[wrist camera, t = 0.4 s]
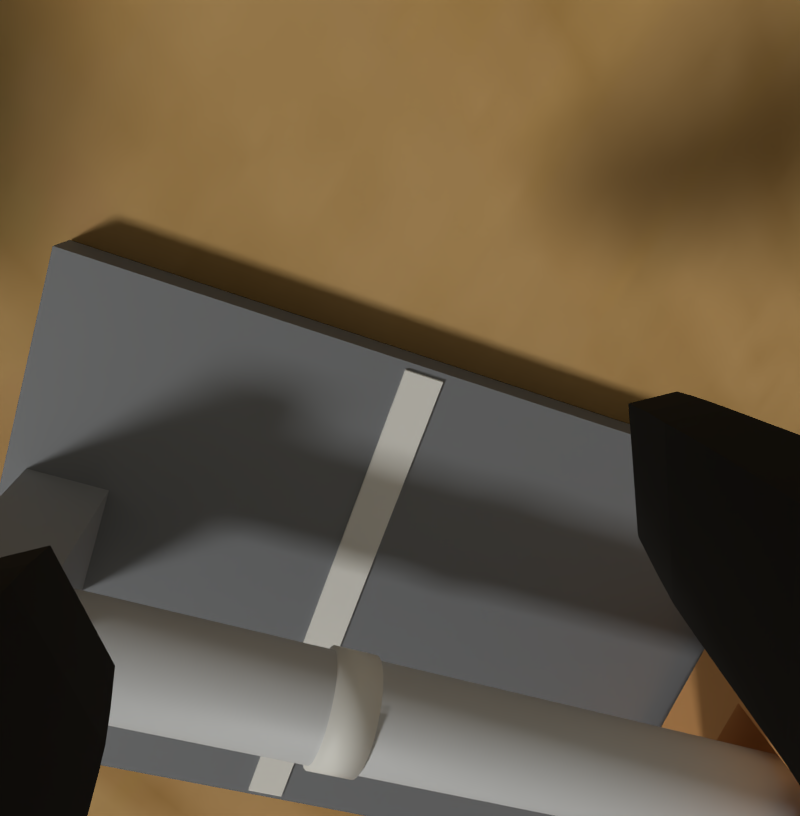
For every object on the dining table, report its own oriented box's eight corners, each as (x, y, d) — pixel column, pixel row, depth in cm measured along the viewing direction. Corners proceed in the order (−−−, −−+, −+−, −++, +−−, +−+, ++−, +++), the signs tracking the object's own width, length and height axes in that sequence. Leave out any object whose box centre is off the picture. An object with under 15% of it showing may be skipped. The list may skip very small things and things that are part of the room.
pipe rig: (858, 883, 28) (1024, 1107, 21) (-36, 704, 22) (-193, 948, 15) (1076, 571, 24) (1359, 727, 18) (69, 239, 18) (-78, 291, 11)
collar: (708, 809, 23) (866, 1075, 17) (625, 791, 23) (754, 1061, 16) (820, 622, 21) (1051, 837, 15) (733, 597, 21) (933, 810, 14)
